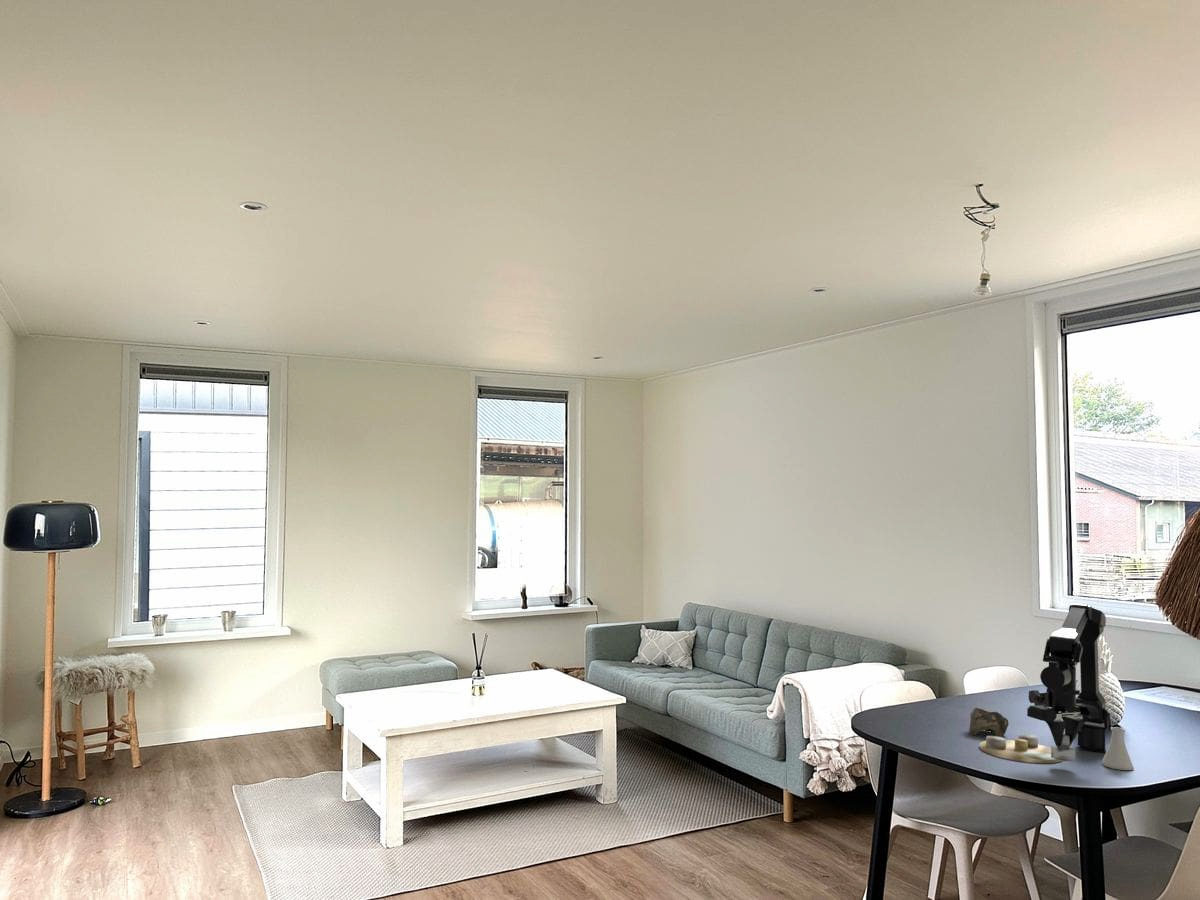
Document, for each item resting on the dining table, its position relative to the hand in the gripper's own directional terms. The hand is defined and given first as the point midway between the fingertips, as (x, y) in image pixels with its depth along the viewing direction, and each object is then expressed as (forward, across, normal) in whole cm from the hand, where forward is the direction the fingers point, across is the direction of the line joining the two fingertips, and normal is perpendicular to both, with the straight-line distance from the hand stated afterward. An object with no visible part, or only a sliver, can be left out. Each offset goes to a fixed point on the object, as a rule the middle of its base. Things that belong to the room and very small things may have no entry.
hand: (1063, 745), depth 233 cm
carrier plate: (+6, -2, -16) cm, 17 cm away
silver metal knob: (+3, 0, 0) cm, 3 cm away
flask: (+6, -17, +1) cm, 18 cm away
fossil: (+6, -8, -34) cm, 36 cm away
